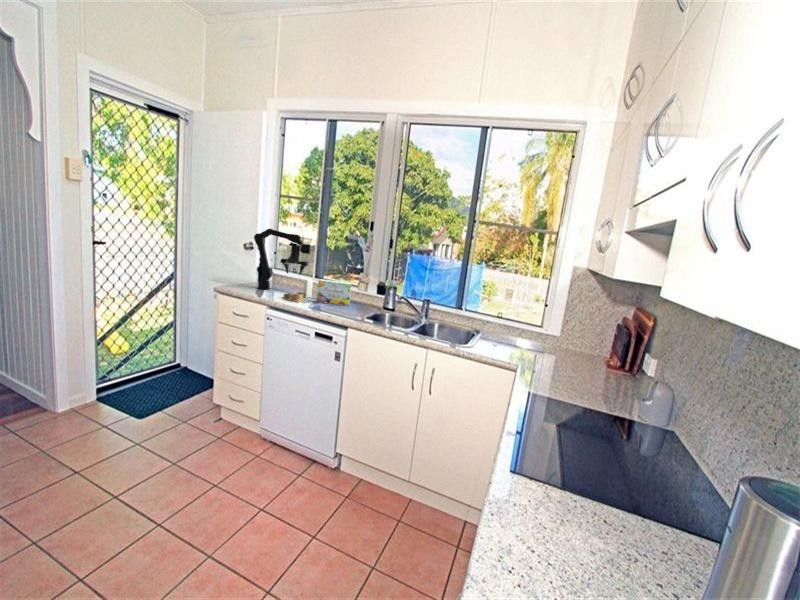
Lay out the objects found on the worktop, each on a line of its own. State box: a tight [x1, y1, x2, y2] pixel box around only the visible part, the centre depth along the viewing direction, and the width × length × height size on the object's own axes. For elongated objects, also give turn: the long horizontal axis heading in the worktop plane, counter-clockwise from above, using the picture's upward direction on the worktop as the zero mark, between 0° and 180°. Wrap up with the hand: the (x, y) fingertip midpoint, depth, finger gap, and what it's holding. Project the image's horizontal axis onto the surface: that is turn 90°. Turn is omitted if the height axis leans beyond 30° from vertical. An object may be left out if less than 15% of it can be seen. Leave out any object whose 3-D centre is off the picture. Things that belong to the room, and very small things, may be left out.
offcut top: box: [290, 292, 303, 299], centre depth 244 cm, size 7×4×2 cm, turn 70°
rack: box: [283, 292, 307, 300], centre depth 253 cm, size 6×14×3 cm, turn 147°
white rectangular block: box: [302, 279, 314, 299], centre depth 261 cm, size 3×5×12 cm, turn 148°
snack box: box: [316, 278, 352, 306], centre depth 251 cm, size 21×6×15 cm, turn 92°
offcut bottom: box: [289, 298, 305, 304], centre depth 244 cm, size 8×5×2 cm, turn 57°
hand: (293, 274), depth 272 cm, fingers open, 9 cm apart
